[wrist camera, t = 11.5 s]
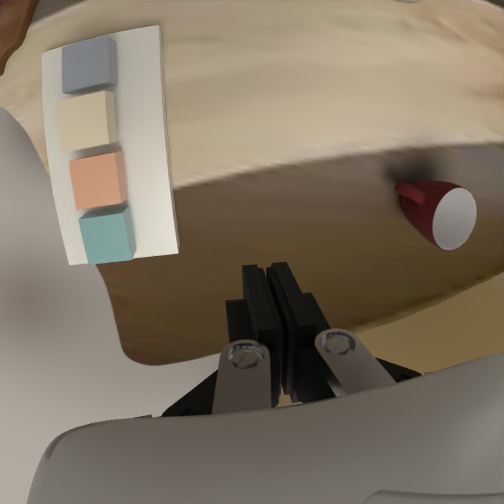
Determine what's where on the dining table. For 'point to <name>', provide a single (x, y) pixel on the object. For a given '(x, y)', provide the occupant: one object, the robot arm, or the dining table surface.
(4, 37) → the plant
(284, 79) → the dining table surface
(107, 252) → the key
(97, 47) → the key
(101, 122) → the key
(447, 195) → the mug
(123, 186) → the key
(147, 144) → the keypad base
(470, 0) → the dining table surface
